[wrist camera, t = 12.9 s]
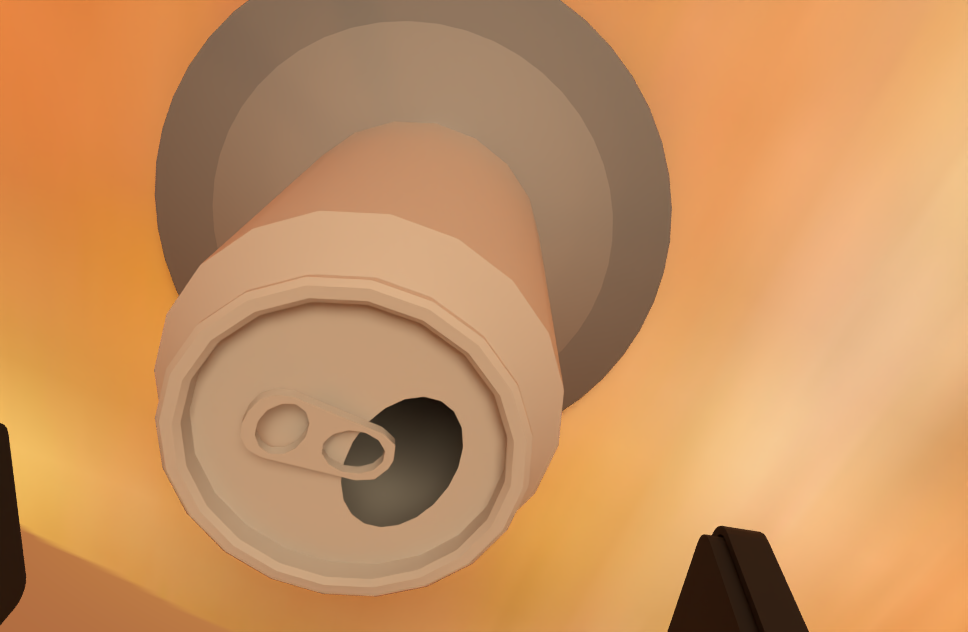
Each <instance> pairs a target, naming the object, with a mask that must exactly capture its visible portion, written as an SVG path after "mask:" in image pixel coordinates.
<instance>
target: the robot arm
mask: <svg viewBox="0 0 968 632" xmlns="http://www.w3.org/2000/svg"><path fill="white" fill-rule="evenodd" d="M25 584H26V573H25V564H24V556H23V549H22V540H21V532H20V524H19V516H18V507H17V499H16V491H15V483H14V475H13V467H12V459H11V451H10V443H9V435H8V431H7V428H6V427H5V425H4V424H1V423H0V625H1V624H2V622H3V621H4V620H5V619H6V618H7V617H8V615H9V614H10V613H11V612H12V611H13V609H14V608H15V606H16V605H17V604H18V603H19V601H20V599H21V597H22V594H23V591H24V589H25ZM668 632H809V631H808V629H807V626H806V624H805V622H804V620H803V617H802V615H801V613H800V611H799V609H798V606H797V604H796V602H795V600H794V597H793V595H792V593H791V591H790V589H789V586H788V584H787V582H786V580H785V577H784V575H783V573H782V571H781V568H780V566H779V564H778V562H777V560H776V557H775V555H774V553H773V551H772V548H771V546H770V544H769V542H768V540H767V538H766V536H765V535H764V534H763V533H761V532H757V531H751V530H744V529H738V528H732V527H725V526H719V527H717V528H716V529H715V530H714V532H713V534H712V535H702V536H701V537H700V539H699V541H698V543H697V546H696V549H695V552H694V555H693V558H692V561H691V564H690V567H689V570H688V573H687V576H686V579H685V582H684V585H683V587H682V590H681V593H680V596H679V599H678V602H677V605H676V608H675V611H674V614H673V617H672V620H671V623H670V626H669V629H668Z"/></svg>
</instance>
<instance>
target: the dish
mask: <svg viewBox="0 0 968 632" xmlns="http://www.w3.org/2000/svg"><path fill="white" fill-rule="evenodd" d="M394 121H396V122H416V123H436V124H439V125H441V126H444V127H447V128H449V129H452V130H454V131H457V132H460V133H462V134H465V135H467V136H470V137H473V138H475V139H477V140H478V141H479V142H480V143H481V144H483V145H484V146H485V147H486V148H488V149H489V150H490V151H491V152H493V153H494V154H495V155H496V156H498V157H499V158H500V159H501V160H502V161H504V162H505V163H506V164H507V165H508V166H509V168H510V169H511V171H512V172H513V174H514V175H515V177H516V179H517V180H518V182H519V183H520V185H521V186H522V188H523V189H524V191H525V193H526V194H527V196H528V197H529V199H530V203H531V207H532V211H533V215H534V219H535V223H536V227H537V231H538V235H539V240H540V246H541V252H542V259H543V265H544V271H545V277H546V283H547V289H548V295H549V302H550V308H551V314H552V320H553V326H554V332H555V338H556V345H557V351H558V357H559V363H560V369H561V375H562V381H563V388H564V395H563V405H562V411H563V410H564V409H566V408H567V407H569V406H570V405H572V404H573V403H574V402H576V401H577V400H579V399H580V398H582V397H583V396H584V395H585V394H586V393H587V392H588V391H589V390H591V389H592V388H593V387H594V386H595V385H596V384H597V383H598V382H599V381H601V380H602V379H603V378H604V377H605V376H606V374H607V373H608V372H609V371H610V370H611V369H612V368H613V366H614V365H615V364H616V363H617V362H618V361H619V359H620V358H621V357H622V356H623V355H624V353H625V352H626V350H627V349H628V347H629V346H630V344H631V343H632V341H633V340H634V338H635V337H636V335H637V334H638V332H639V331H640V329H641V327H642V325H643V323H644V321H645V319H646V317H647V315H648V313H649V311H650V309H651V307H652V305H653V303H654V300H655V297H656V294H657V291H658V288H659V285H660V282H661V279H662V276H663V273H664V268H665V263H666V258H667V253H668V248H669V243H670V229H671V212H672V206H671V193H670V181H669V172H668V168H667V163H666V159H665V154H664V150H663V145H662V141H661V138H660V135H659V133H658V130H657V127H656V125H655V122H654V119H653V116H652V114H651V111H650V108H649V106H648V104H647V103H646V101H645V99H644V97H643V95H642V93H641V91H640V90H639V88H638V86H637V84H636V82H635V80H634V78H633V76H632V75H631V74H630V72H629V71H628V70H627V68H626V67H625V65H624V64H623V63H622V61H621V60H620V59H619V57H618V56H617V54H616V53H615V52H614V50H613V49H612V48H611V46H610V45H609V44H608V43H607V42H606V41H605V40H604V39H603V38H602V37H601V36H600V35H599V34H598V33H597V32H596V31H595V30H594V29H593V28H592V27H591V26H590V24H589V23H588V22H587V21H586V20H585V19H584V18H582V17H581V16H580V15H578V14H577V13H576V12H575V11H573V10H572V9H571V8H569V7H568V6H567V5H566V4H564V3H563V2H562V1H560V0H248V1H247V2H246V3H245V4H243V5H242V6H241V7H239V8H238V9H237V10H235V11H234V12H233V13H232V14H231V15H230V16H229V17H228V18H227V19H226V20H225V21H224V22H223V23H222V25H221V26H220V27H219V28H218V29H217V30H216V31H215V32H214V33H213V34H212V35H211V36H210V37H209V38H208V40H207V41H206V43H205V44H204V45H203V47H202V48H201V50H200V51H199V52H198V54H197V55H196V57H195V58H194V59H193V61H192V62H191V64H190V65H189V67H188V69H187V71H186V73H185V75H184V76H183V78H182V80H181V82H180V84H179V86H178V88H177V90H176V92H175V94H174V96H173V99H172V102H171V105H170V108H169V111H168V114H167V117H166V120H165V123H164V126H163V129H162V134H161V139H160V145H159V150H158V156H157V161H156V181H155V202H156V212H157V223H158V230H159V235H160V239H161V244H162V248H163V252H164V257H165V261H166V263H167V266H168V269H169V271H170V274H171V277H172V280H173V282H174V285H175V288H176V290H177V292H178V294H179V295H180V294H181V292H182V291H183V290H184V288H185V287H186V285H187V284H188V282H189V281H190V279H191V278H192V276H193V275H194V273H195V272H196V270H197V269H198V268H199V266H200V265H201V264H202V263H203V262H204V261H205V260H206V259H207V258H209V257H210V256H211V255H212V254H213V253H214V252H215V251H216V250H218V249H219V248H220V247H221V246H222V245H223V244H224V243H225V242H226V241H228V240H229V239H230V238H231V237H232V236H233V235H234V234H235V233H236V232H238V231H239V230H240V229H241V228H242V227H243V226H244V225H245V224H247V223H248V222H249V221H250V220H251V219H252V218H253V217H254V216H255V215H257V214H258V213H259V212H260V211H261V210H262V209H263V208H264V207H265V206H267V205H268V204H269V203H270V202H271V201H272V200H273V199H274V198H276V197H277V196H278V195H279V194H280V193H281V192H282V191H283V190H284V189H286V188H287V187H288V186H289V185H290V184H291V183H292V182H293V181H294V180H296V179H297V178H298V177H299V176H300V175H301V174H302V173H303V172H305V171H306V170H307V169H308V168H309V167H310V166H311V165H312V164H313V163H315V162H316V161H317V160H318V159H319V158H320V157H321V156H322V155H324V154H325V153H327V152H328V151H329V150H331V149H332V148H334V147H335V146H337V145H338V144H339V143H341V142H342V141H344V140H345V139H347V138H348V137H349V136H351V135H352V134H354V133H355V132H359V131H362V130H366V129H369V128H373V127H377V126H380V125H384V124H387V123H391V122H394Z"/></svg>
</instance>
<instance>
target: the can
mask: <svg viewBox="0 0 968 632" xmlns="http://www.w3.org/2000/svg"><path fill="white" fill-rule="evenodd" d="M154 372H155V378H156V385H157V392H158V398H159V403H158V407H157V412H156V416H155V421H156V427H157V434H158V440H159V447H160V454H161V460H162V467H163V469H164V471H165V473H166V475H167V477H168V479H169V481H170V483H171V485H172V486H173V488H174V490H175V492H176V494H177V496H178V498H179V500H180V501H181V503H182V505H183V507H184V509H185V511H186V513H187V514H188V515H189V516H190V517H191V518H192V519H193V520H194V521H195V522H196V523H197V524H198V525H199V526H200V527H201V528H202V529H203V530H204V531H205V532H206V533H207V534H208V535H209V536H210V537H211V538H212V539H213V540H214V541H215V542H216V543H217V544H218V545H219V546H220V547H221V548H222V549H223V550H224V551H225V552H227V553H228V554H230V555H232V556H233V557H235V558H237V559H239V560H240V561H242V562H244V563H245V564H247V565H249V566H251V567H252V568H254V569H256V570H257V571H259V572H261V573H263V574H264V575H266V576H268V577H269V578H271V579H275V580H278V581H281V582H285V583H288V584H292V585H295V586H298V587H302V588H305V589H308V590H312V591H315V592H319V593H322V594H337V595H357V596H381V595H386V594H391V593H396V592H401V591H406V590H411V589H416V588H421V587H426V586H429V585H431V584H433V583H435V582H437V581H439V580H441V579H443V578H445V577H447V576H449V575H451V574H453V573H455V572H457V571H459V570H461V569H463V568H465V567H467V566H469V565H471V564H473V563H474V562H475V561H476V560H477V559H478V558H479V557H480V556H481V555H482V554H483V553H484V552H485V551H486V550H487V549H488V548H489V547H490V546H491V545H492V544H493V543H494V542H495V541H496V540H497V539H498V538H499V537H500V536H501V535H502V534H503V533H504V532H505V531H506V530H507V529H508V527H509V525H510V523H511V521H512V519H513V517H514V515H515V513H516V511H517V510H518V509H519V508H520V507H521V506H522V505H523V504H524V503H525V502H527V501H528V500H529V499H530V498H531V497H532V496H533V495H534V494H535V492H536V490H537V488H538V486H539V484H540V482H541V480H542V478H543V476H544V474H545V472H546V470H547V468H548V465H549V463H550V461H551V459H552V457H553V455H554V453H555V451H556V449H557V447H558V444H559V435H560V425H561V415H562V405H563V395H564V388H563V381H562V375H561V369H560V363H559V357H558V351H557V345H556V338H555V332H554V326H553V320H552V314H551V308H550V302H549V295H548V289H547V283H546V277H545V271H544V265H543V259H542V252H541V246H540V240H539V235H538V231H537V227H536V223H535V219H534V215H533V211H532V207H531V203H530V199H529V197H528V196H527V194H526V193H525V191H524V189H523V188H522V186H521V185H520V183H519V182H518V180H517V179H516V177H515V175H514V174H513V172H512V171H511V169H510V168H509V166H508V165H507V164H506V163H505V162H504V161H502V160H501V159H500V158H499V157H498V156H496V155H495V154H494V153H493V152H491V151H490V150H489V149H488V148H486V147H485V146H484V145H483V144H481V143H480V142H479V141H478V140H477V139H475V138H473V137H470V136H467V135H465V134H462V133H460V132H457V131H454V130H452V129H449V128H447V127H444V126H441V125H439V124H436V123H416V122H396V121H394V122H391V123H387V124H384V125H380V126H377V127H373V128H369V129H366V130H362V131H359V132H355V133H354V134H352V135H351V136H349V137H348V138H347V139H345V140H344V141H342V142H341V143H339V144H338V145H337V146H335V147H334V148H332V149H331V150H329V151H328V152H327V153H325V154H324V155H322V156H321V157H320V158H319V159H318V160H317V161H316V162H315V163H313V164H312V165H311V166H310V167H309V168H308V169H307V170H306V171H305V172H303V173H302V174H301V175H300V176H299V177H298V178H297V179H296V180H294V181H293V182H292V183H291V184H290V185H289V186H288V187H287V188H286V189H284V190H283V191H282V192H281V193H280V194H279V195H278V196H277V197H276V198H274V199H273V200H272V201H271V202H270V203H269V204H268V205H267V206H265V207H264V208H263V209H262V210H261V211H260V212H259V213H258V214H257V215H255V216H254V217H253V218H252V219H251V220H250V221H249V222H248V223H247V224H245V225H244V226H243V227H242V228H241V229H240V230H239V231H238V232H236V233H235V234H234V235H233V236H232V237H231V238H230V239H229V240H228V241H226V242H225V243H224V244H223V245H222V246H221V247H220V248H219V249H218V250H216V251H215V252H214V253H213V254H212V255H211V256H210V257H209V258H207V259H206V260H205V261H204V262H203V263H202V264H201V265H200V266H199V268H198V269H197V270H196V272H195V273H194V275H193V276H192V278H191V279H190V281H189V282H188V284H187V285H186V287H185V288H184V290H183V291H182V292H181V294H180V295H179V297H178V298H177V300H176V301H175V303H174V304H173V306H172V307H171V309H170V310H169V312H168V313H167V315H166V319H165V324H164V328H163V333H162V337H161V342H160V346H159V351H158V355H157V360H156V365H155V369H154Z"/></svg>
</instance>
